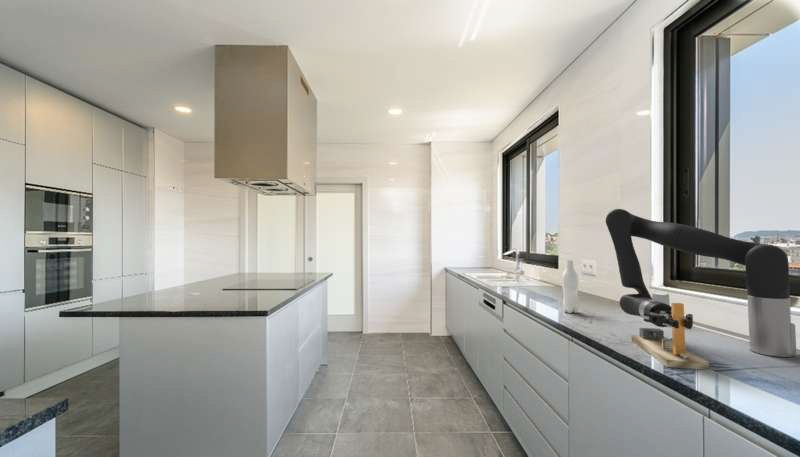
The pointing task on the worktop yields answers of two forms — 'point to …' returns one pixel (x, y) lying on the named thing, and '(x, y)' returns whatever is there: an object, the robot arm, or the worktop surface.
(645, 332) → the gray rectangular block
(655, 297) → the skincare box
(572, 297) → the water bottle
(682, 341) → the upright wooden paddle
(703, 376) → the worktop surface
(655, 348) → the rail board
